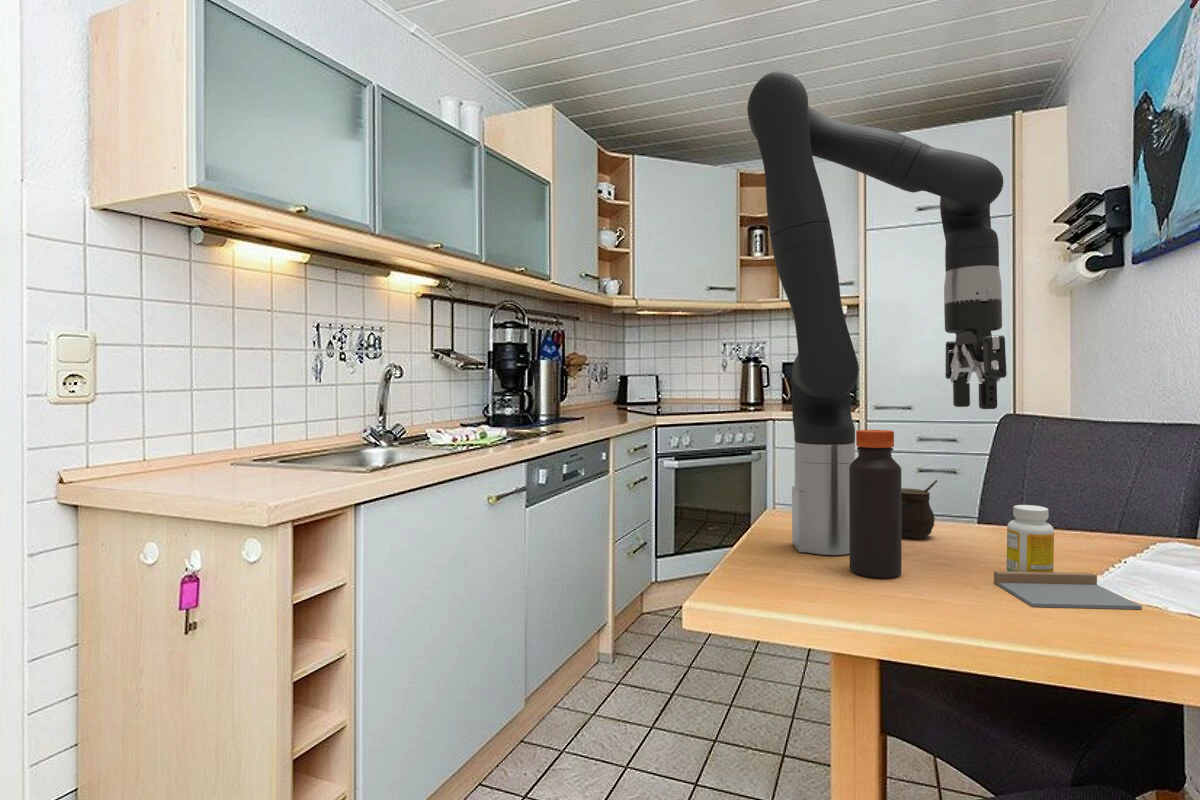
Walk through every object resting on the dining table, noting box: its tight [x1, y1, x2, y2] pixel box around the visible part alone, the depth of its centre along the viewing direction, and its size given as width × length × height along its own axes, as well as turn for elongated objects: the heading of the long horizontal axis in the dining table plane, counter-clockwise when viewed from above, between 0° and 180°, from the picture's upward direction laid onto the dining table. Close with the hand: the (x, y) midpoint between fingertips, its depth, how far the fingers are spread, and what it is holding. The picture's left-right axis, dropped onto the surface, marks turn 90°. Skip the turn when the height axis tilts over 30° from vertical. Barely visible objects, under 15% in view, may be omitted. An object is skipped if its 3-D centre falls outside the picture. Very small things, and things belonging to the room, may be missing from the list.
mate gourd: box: [901, 479, 938, 540], centre depth 115 cm, size 7×8×10 cm
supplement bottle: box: [1006, 504, 1055, 572], centre depth 90 cm, size 5×5×10 cm
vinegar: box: [849, 429, 903, 580], centre depth 93 cm, size 7×7×20 cm
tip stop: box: [993, 570, 1143, 610], centre depth 82 cm, size 12×9×2 cm
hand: (974, 407), depth 100 cm, fingers open, 8 cm apart
